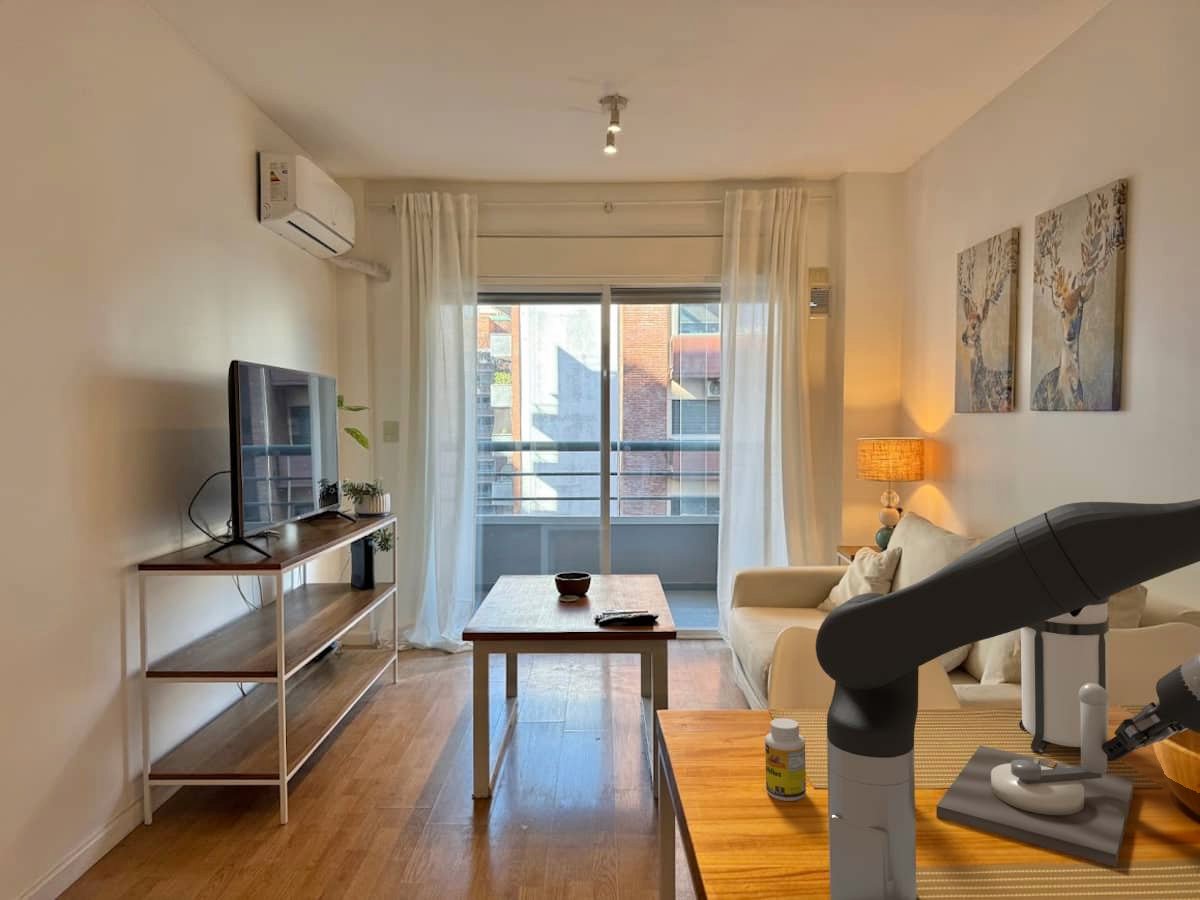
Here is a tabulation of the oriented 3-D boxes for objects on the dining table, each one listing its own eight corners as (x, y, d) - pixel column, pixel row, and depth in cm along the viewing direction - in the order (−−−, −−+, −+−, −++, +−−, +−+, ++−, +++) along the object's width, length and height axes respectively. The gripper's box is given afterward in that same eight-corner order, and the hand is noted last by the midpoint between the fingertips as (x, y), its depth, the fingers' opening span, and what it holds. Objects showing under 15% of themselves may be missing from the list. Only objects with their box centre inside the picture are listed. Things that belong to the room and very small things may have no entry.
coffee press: (1146, 751, 121) (1145, 561, 120) (1075, 770, 115) (1073, 571, 115) (1046, 714, 137) (1044, 547, 137) (979, 729, 132) (977, 554, 131)
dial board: (1116, 867, 90) (1116, 852, 90) (936, 816, 103) (936, 804, 103) (1134, 789, 109) (1133, 777, 109) (980, 754, 122) (980, 744, 121)
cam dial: (1025, 818, 99) (1024, 704, 98) (974, 780, 110) (973, 677, 109) (1137, 808, 100) (1136, 696, 100) (1076, 771, 111) (1075, 670, 111)
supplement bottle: (759, 788, 112) (757, 718, 112) (792, 782, 114) (791, 713, 114) (778, 805, 107) (777, 733, 107) (813, 799, 109) (812, 727, 108)
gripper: (1208, 726, 87) (1099, 791, 99) (1269, 706, 93) (1159, 769, 104) (1157, 668, 92) (1058, 736, 103) (1217, 652, 98) (1118, 718, 109)
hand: (1109, 752), depth 104 cm, fingers closed
